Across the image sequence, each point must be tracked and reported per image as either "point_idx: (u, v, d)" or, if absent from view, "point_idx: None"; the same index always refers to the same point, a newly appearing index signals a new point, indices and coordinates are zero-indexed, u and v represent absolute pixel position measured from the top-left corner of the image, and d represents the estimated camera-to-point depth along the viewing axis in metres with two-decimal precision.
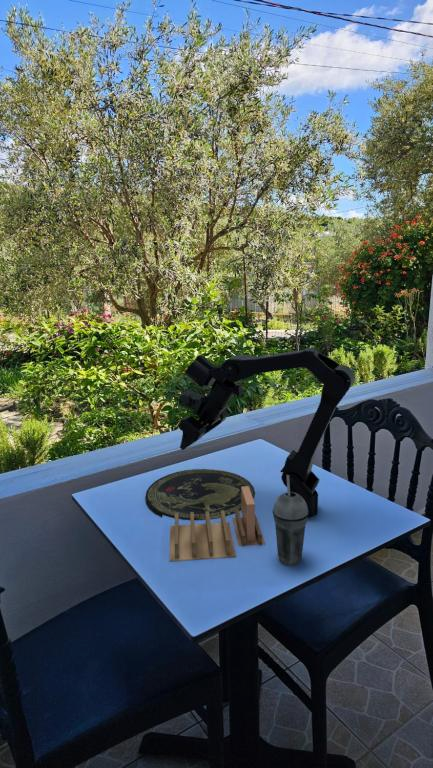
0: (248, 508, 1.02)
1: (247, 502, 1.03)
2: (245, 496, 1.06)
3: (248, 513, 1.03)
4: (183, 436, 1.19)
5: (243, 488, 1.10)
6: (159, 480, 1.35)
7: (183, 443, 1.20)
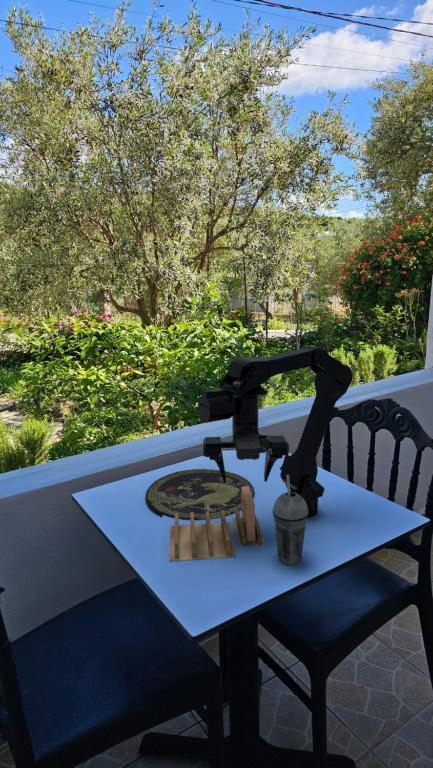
0: (248, 508, 1.02)
1: (247, 502, 1.03)
2: (245, 496, 1.06)
3: (248, 513, 1.03)
4: None
5: (243, 488, 1.10)
6: (159, 480, 1.35)
7: None
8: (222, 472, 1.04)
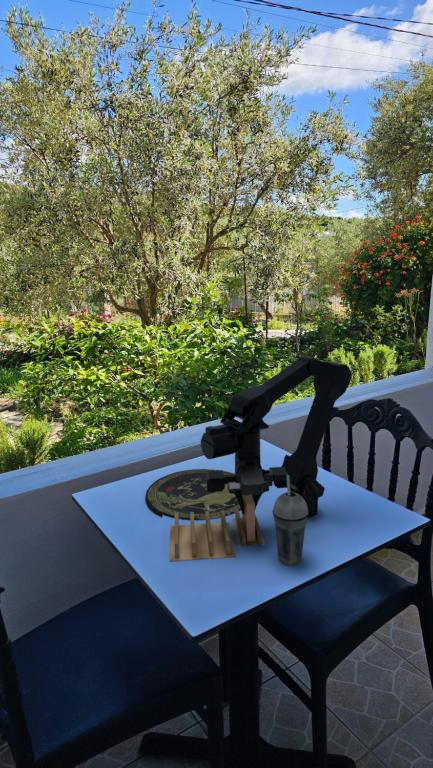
0: (248, 508, 1.02)
1: (247, 502, 1.03)
2: (245, 496, 1.06)
3: (248, 513, 1.03)
4: None
5: None
6: (159, 480, 1.35)
7: None
8: (241, 504, 1.06)
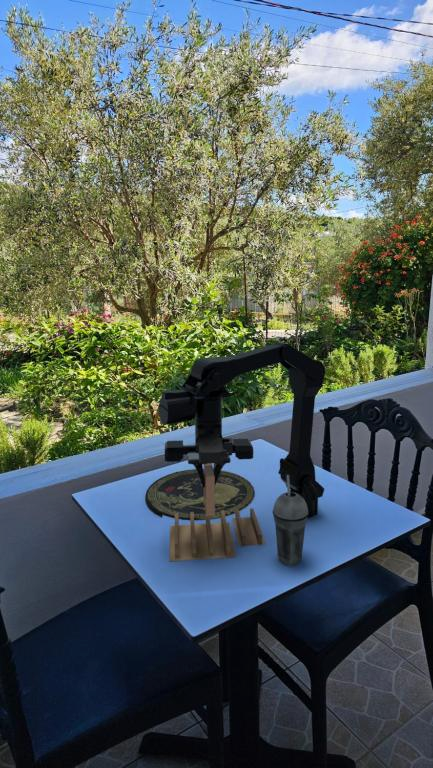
0: (207, 480, 0.98)
1: (207, 474, 0.98)
2: (206, 469, 1.01)
3: (207, 486, 0.98)
4: None
5: None
6: (159, 480, 1.35)
7: None
8: (201, 476, 1.01)
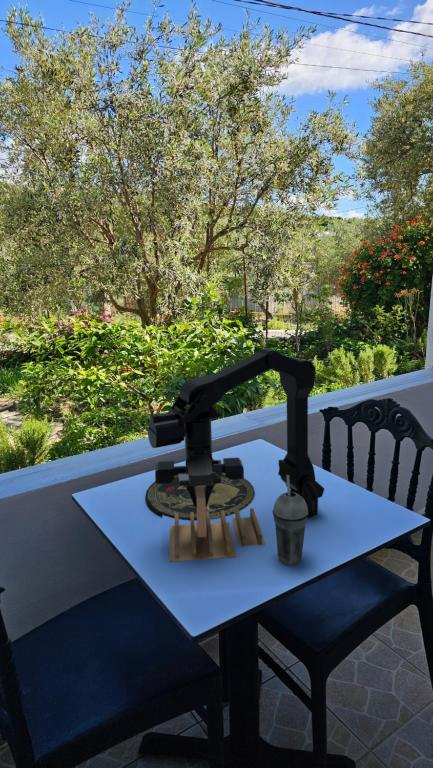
0: (198, 502, 0.98)
1: (198, 496, 0.99)
2: (197, 490, 1.02)
3: (198, 507, 0.98)
4: None
5: None
6: None
7: None
8: (192, 497, 1.01)
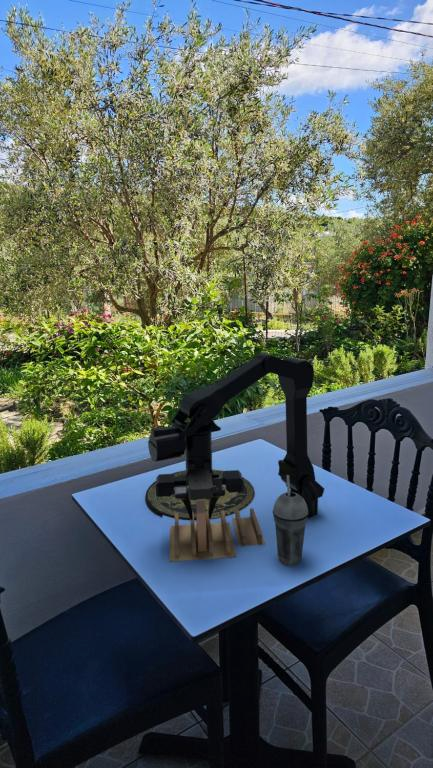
0: (198, 517, 0.99)
1: (198, 511, 0.99)
2: (197, 504, 1.02)
3: (199, 522, 0.99)
4: None
5: None
6: None
7: None
8: (188, 510, 1.02)
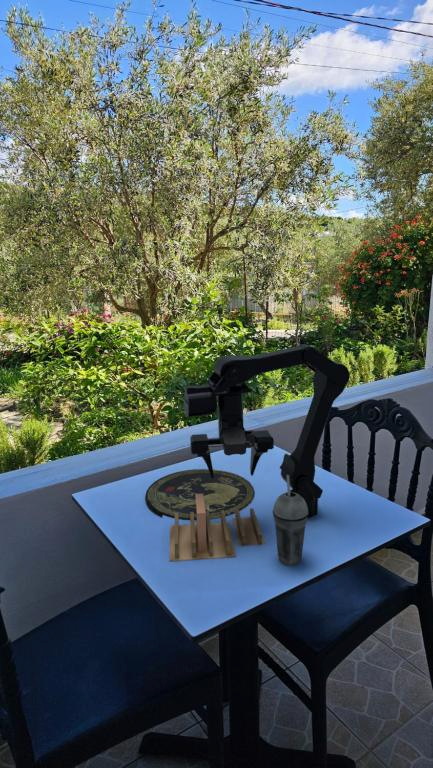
0: (198, 517, 0.99)
1: (198, 511, 0.99)
2: (197, 504, 1.02)
3: (199, 522, 0.99)
4: None
5: (197, 496, 1.06)
6: (159, 480, 1.35)
7: None
8: (210, 468, 1.07)
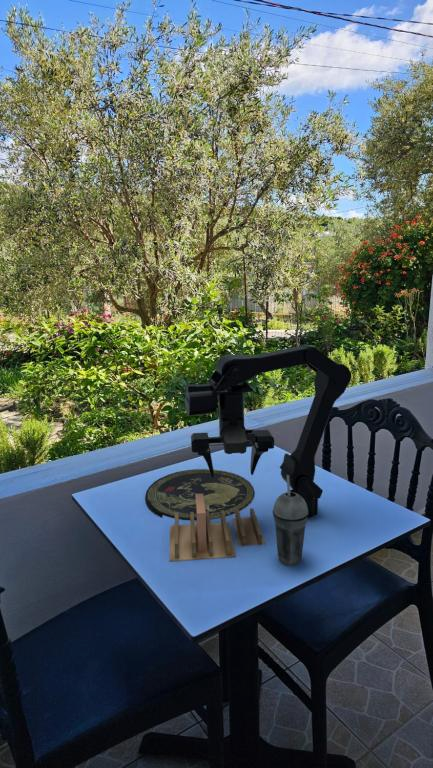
0: (198, 517, 0.99)
1: (198, 511, 0.99)
2: (197, 504, 1.02)
3: (199, 522, 0.99)
4: None
5: (197, 496, 1.06)
6: (159, 480, 1.35)
7: None
8: (210, 467, 1.08)
